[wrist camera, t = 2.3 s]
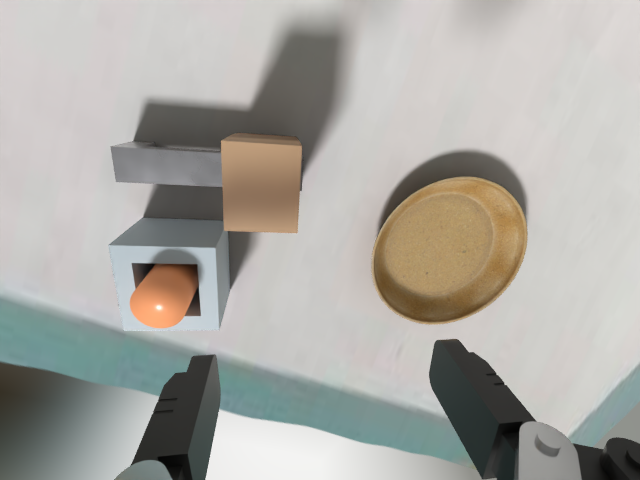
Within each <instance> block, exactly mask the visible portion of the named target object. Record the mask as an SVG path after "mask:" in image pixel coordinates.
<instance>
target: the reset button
mask: <svg viewBox="0 0 640 480" xmlns="http://www.w3.org/2000/svg"><path fill="white" fill-rule="evenodd" d="M198 285H199V281H198V266H197V264H158V263H156V264H155V265H154V267H153V268H152V269H151V271H150V272H149V273H148V274H147V276H146V277H145V278H144V279H143V281H142V282H141V283H140V284H139V286H138V287H137V288H136V289H135V291H134V292H133V294H132V295H131V298H130V309H131V311H132V313H133V315H134V316H135V318H136V319H137V320H139V321H140V322H141V323H143V324H145V325H147V326H150V327H153V328H169V327H172V326H174V325H176V324H178V323H179V322H180V321H181V320H182V319H183V318H184V316H185V314H186V312H187V309H188V307H189V305H190V303H191V301H192V299H193V296H194V294H195V292H196V290H197V288H198Z"/></svg>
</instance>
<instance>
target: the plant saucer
mask: <svg viewBox="0 0 640 480" xmlns="http://www.w3.org/2000/svg"><path fill="white" fill-rule="evenodd" d="M526 247H527V224H526V219H525V216H524V213H523V211H522V208H521V207H520V205H519V203H518V202H517V200H516V199H515V198H514V197H513V196H512V195H511V194H510V193H509V192H508V191H507V190H506V189H505V188H503V187H502V186H500V185H498V184H497V183H494V182H492V181H489V180H486V179H483V178H478V177H452V178H447V179H443V180H440V181H437V182H434V183H432V184H429V185H427V186H425V187H423V188H421V189H420V190H418V191H416V192H415V193H413V194H412V195H410V196H409V197H408V198H406V199H405V200H404V201H403V202H402V203H401V204H400V205H398V207H397V208H396V209H395V210H394V211H393V212H392V213H391V214H390V216H389V217H388V219H387V220H386V222H385V223H384V225H383V226H382V228H381V230H380V232H379V234H378V237H377V239H376V242H375V245H374V248H373V253H372V261H371V271H372V278H373V283H374V286H375V288H376V291H377V293H378V295H379V296H380V298H381V300H382V301H383V302H384V303H385V305H386V306H387V307H388V308H389V309H390V310H392V311H393V312H394V313H396V314H397V315H399V316H401V317H402V318H404V319H407V320H410V321H413V322H416V323H421V324H445V323H450V322H455V321H458V320H461V319H464V318H467V317H469V316H471V315H473V314H476V313H477V312H479V311H481V310H483V309H484V308H486V307H487V306H489V305H490V304H491V303H492V302H494V301H495V300H496V299H497V298H498V297H499V296H500V295H501V294H502V293H503V292H504V291H505V290H506V289H507V287H508V286H509V285H510V284H511V282H512V281H513V280H514V278H515V276H516V274H517V273H518V271H519V268H520V266H521V264H522V262H523V259H524V255H525V251H526Z"/></svg>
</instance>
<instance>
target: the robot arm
mask: <svg viewBox="0 0 640 480" xmlns="http://www.w3.org/2000/svg"><path fill="white" fill-rule="evenodd" d="M429 378H430V383H431V387H432V389H433V391H434V393H435V395H436V397H437V398H438V400H439V402H440V404H441V406H442V407H443V409H444V411H445V413H446V415H447V416H448V418H449V420H450V422H451V424H452V425H453V427H454V429H455V431H456V433H457V434H458V436H459V438H460V440H461V442H462V443H463V445H464V447H465V449H466V451H467V452H468V454H469V456H470V458H471V460H472V461H473V463H474V465H475V467H476V469H477V470H478V472H479V474H480V476H481V477H482V479H490V478H497V480H640V444H639V443H637V442H634V441H632V440H628V439H625V438H612V439H609V440H608V442H607V444H606V446H605V448H604V450H603V449H598V448H593V447H588V446H583V445H578V444H573V443H571V441H570V440H569V439H568V438H567V437H566V436H565V435H564V434H562V433H561V432H560V431H558V430H557V429H555V428H553V427H551V426H549V425H547V424H544V423H541V422H537V421H536V420H535V419H534V418H533V417H532V416H531V414H530V413H529V412H528V411H527V410H526V408H525V407H524V406H523V405H522V404H521V402H520V401H519V400H518V399H517V398H516V396H515V395H514V394H513V393H512V392H511V390H510V389H509V388H508V387H507V385H504V382H503V381H502V379H501V378H500V377H499V376H498V375H496V372H495V371H494V370H493V369H492V367H491V366H490V365H489V364H488V363H487V362H486V361H485V360H484V359H482V358H481V357H479V356H478V355H476V354H475V353H474V352H470V353H469V352H468V351H467V350H466V348H465V347H464V346H463V345H462V343H461V342H460V341H459V340H457V339H449V340H437V341H436V342H435V344H434V349H433V355H432V360H431V366H430V372H429ZM219 406H220V382H219V374H218V366H217V358H216V355H215V354H214V355H199V356H193V357H192V358H191V361H190V364H189V367H188V370H187V372H183V373H175V374H174V375H173V376H172V378H171V379H170V380H169V381H168V382H167V383H166V384H165V385H164V387H163V390H162V392H161V394H160V397H159V400H158V402H157V404H156V407H155V409H154V411H153V412H154V413H153V414H152V417H151V419H150V421H149V424H148V426H147V428H146V431H145V433H144V436H143V438H142V441H141V443H140V445H139V448H138V450H137V453H136V455H135V457H134V460H133V462H132V464H131V466H130V467H128V468H127V469H125V470H124V471H123V472H121V473H120V474H119V475H118V476H117V477H116V478H115V479H114V480H205V478H206V473H207V468H208V463H209V458H210V452H211V447H212V442H213V437H214V432H215V427H216V422H217V417H218V412H219Z"/></svg>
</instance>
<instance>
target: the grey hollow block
mask: <svg viewBox="0 0 640 480" xmlns="http://www.w3.org/2000/svg"><path fill="white" fill-rule="evenodd" d="M108 246H109V252H110V258H111V263H112V269H113V275H114V280H115V286H116V292H117V297H118V303H119V309H120V314H121V320H122V326H123V331H168V330H219V329H220V325H221V322H222V318H223V314H224V311H225V307H226V303H227V300H228V296H229V292H230V272H229V237H228V231H224V220H197V219H169V218H142V219H140V220H139V221H138V222H137V223H135V224H134V225H133V226H132V227H130V228H129V229H128V230H127V231H125V232H124V233H123V234H122V235H120V236H119V237H118V238H117V239H116V240H114V241H113V242H112V243H111V244H109V245H108ZM156 263H158V264H197V266H198V281H199V285H198V288H197V290H196V292H195V294H194V296H193V299H192V301H191V303H190V305H189V307H188V309H187V312H186V314H185V316H184V318H183V319H182V320H181V321H180V322H179V323H178V324H176V325H174V326H172V327H169V328H153V327H150V326H147V325H145V324H143V323H141V322H140V321H139V320H137V319H136V318H135V316H134V315H133V313H132V311H131V309H130V298H131V295H132V294H133V292H134V291H135V289H136V288H137V287H138V286H139V284H140V283H141V282H142V281H143V279H144V278H145V277H146V276H147V274H148V273H149V272H150V271H151V269H152V268H153V267H154V265H155V264H156Z"/></svg>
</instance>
